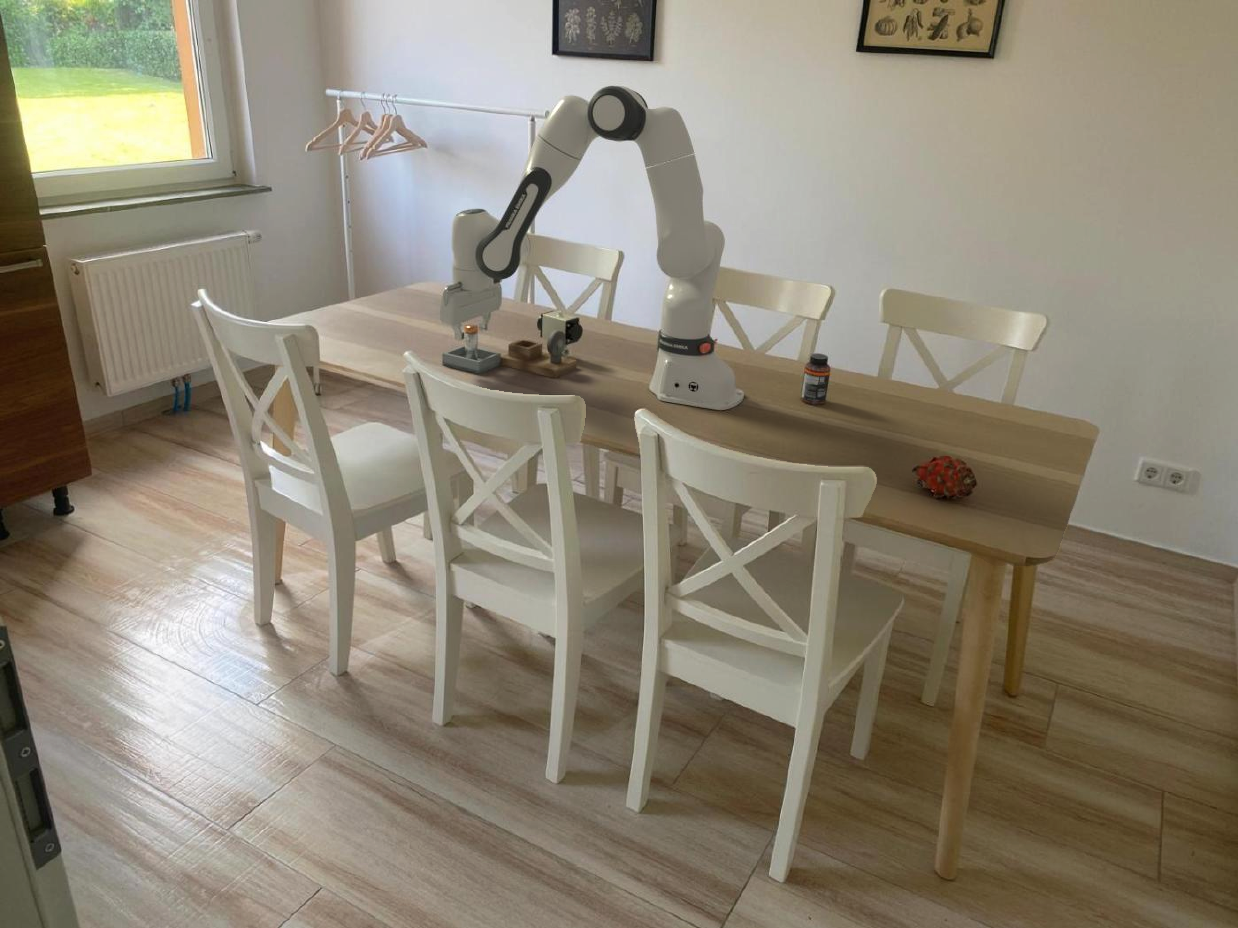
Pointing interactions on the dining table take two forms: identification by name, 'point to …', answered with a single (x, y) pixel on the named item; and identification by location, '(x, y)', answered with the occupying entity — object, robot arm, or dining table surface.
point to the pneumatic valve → (560, 327)
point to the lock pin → (471, 342)
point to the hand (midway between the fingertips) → (471, 335)
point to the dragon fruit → (946, 477)
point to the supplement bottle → (815, 380)
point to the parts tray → (471, 360)
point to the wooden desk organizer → (540, 356)
